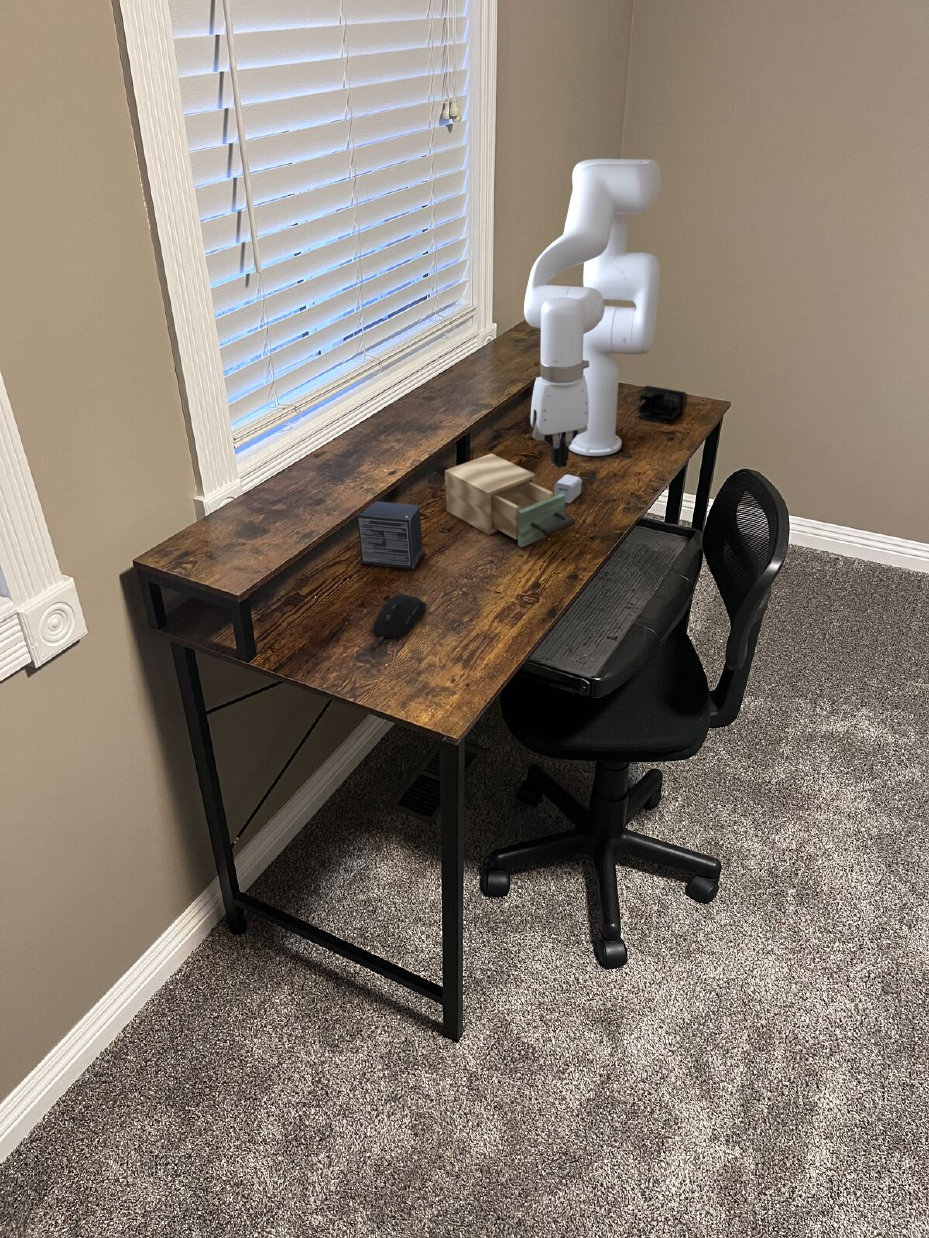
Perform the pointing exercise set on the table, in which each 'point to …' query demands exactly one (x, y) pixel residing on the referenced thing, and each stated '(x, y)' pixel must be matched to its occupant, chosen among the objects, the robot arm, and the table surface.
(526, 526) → the drawer
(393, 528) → the small box
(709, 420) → the table surface
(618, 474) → the table surface
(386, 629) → the gaming mouse
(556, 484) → the usb wall charger
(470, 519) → the cabinet
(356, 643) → the table surface
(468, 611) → the table surface
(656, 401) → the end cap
